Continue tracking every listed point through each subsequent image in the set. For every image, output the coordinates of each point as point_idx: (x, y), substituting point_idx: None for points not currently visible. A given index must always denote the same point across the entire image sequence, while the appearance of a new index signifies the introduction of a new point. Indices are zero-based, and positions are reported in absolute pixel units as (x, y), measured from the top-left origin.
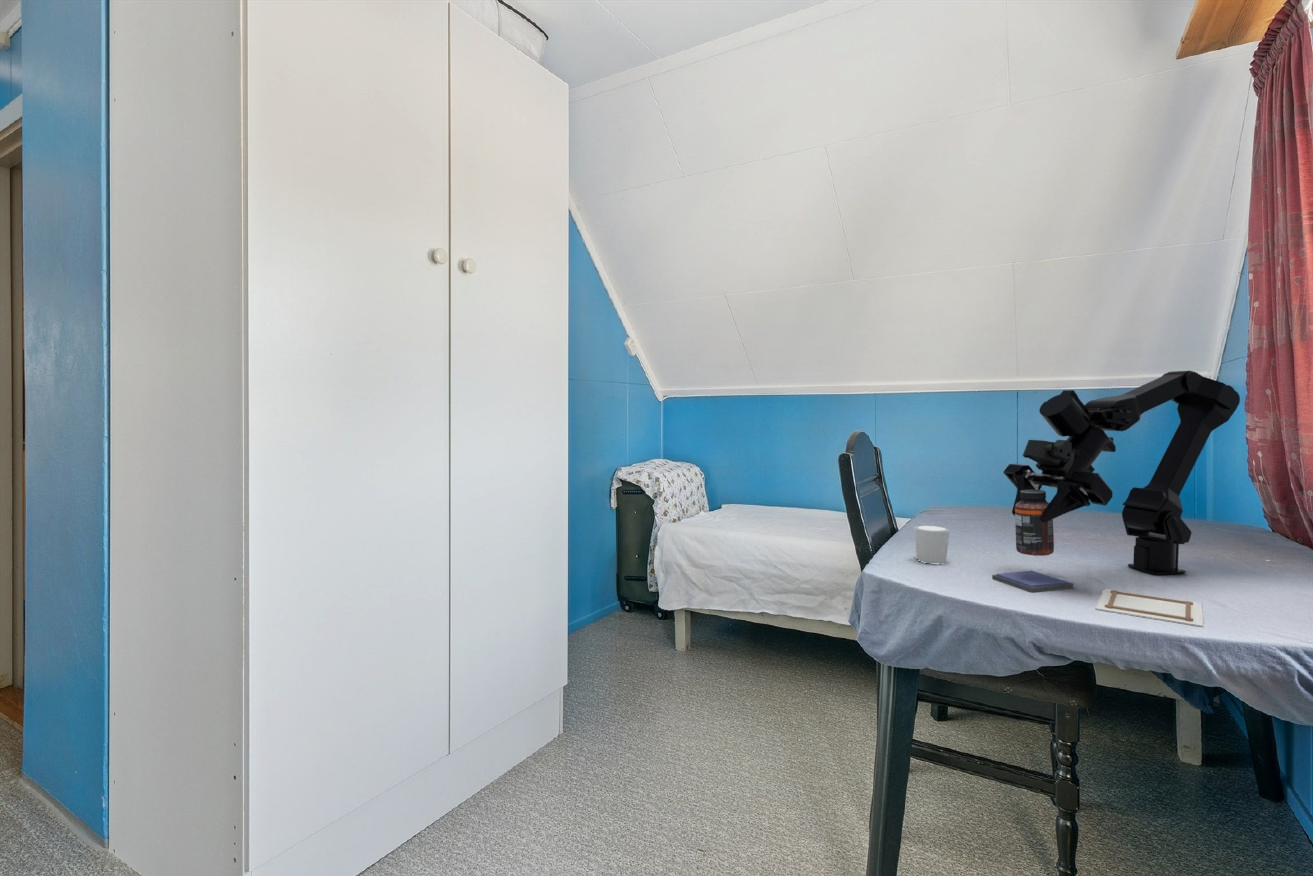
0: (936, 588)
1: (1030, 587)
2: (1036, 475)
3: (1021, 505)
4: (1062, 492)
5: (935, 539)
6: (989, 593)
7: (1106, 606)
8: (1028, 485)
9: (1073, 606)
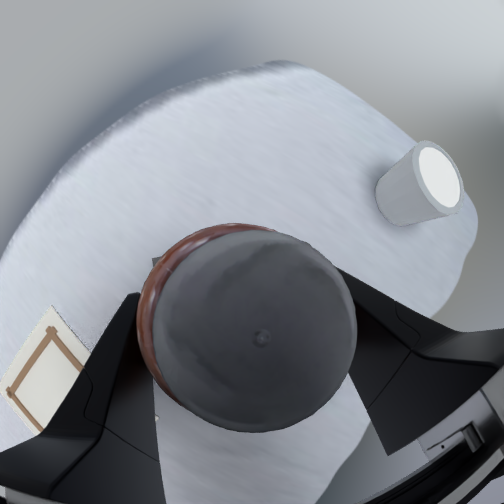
0: (213, 105)
1: (158, 260)
2: (469, 472)
3: (219, 227)
4: (53, 439)
5: (402, 168)
6: (164, 172)
7: (51, 327)
8: (435, 395)
9: (69, 280)
